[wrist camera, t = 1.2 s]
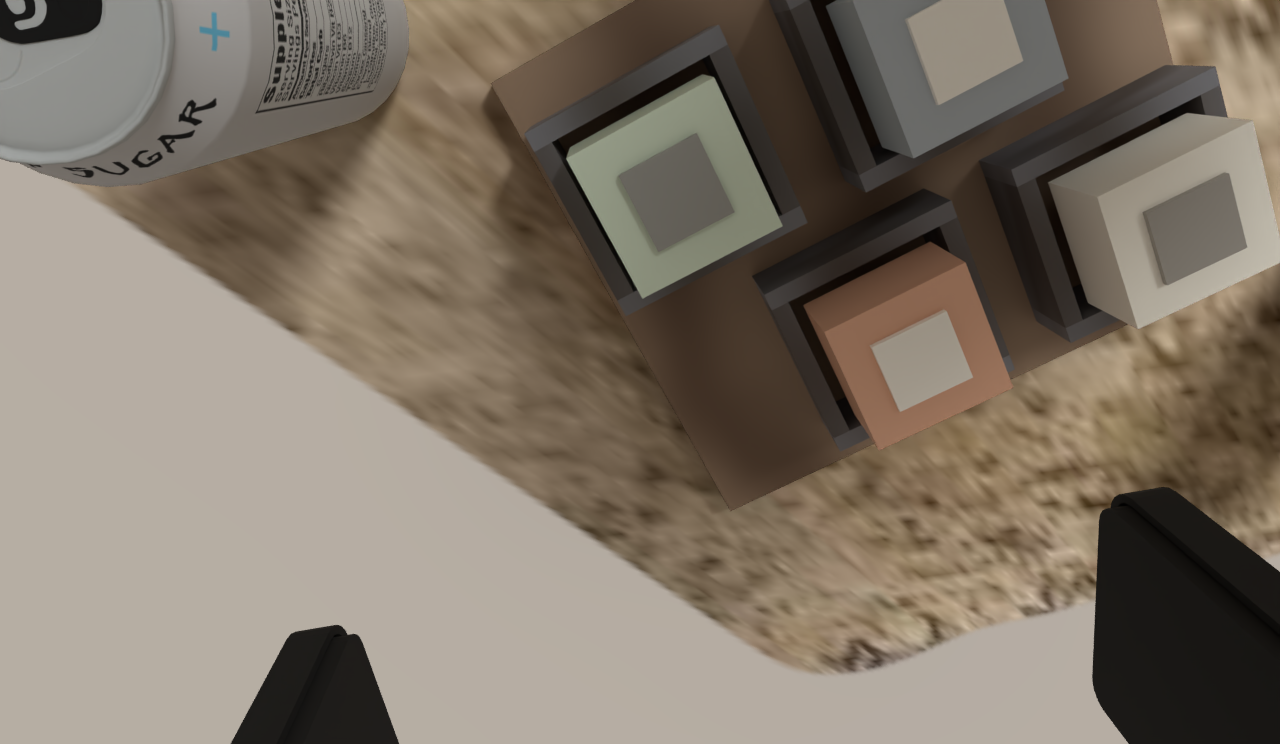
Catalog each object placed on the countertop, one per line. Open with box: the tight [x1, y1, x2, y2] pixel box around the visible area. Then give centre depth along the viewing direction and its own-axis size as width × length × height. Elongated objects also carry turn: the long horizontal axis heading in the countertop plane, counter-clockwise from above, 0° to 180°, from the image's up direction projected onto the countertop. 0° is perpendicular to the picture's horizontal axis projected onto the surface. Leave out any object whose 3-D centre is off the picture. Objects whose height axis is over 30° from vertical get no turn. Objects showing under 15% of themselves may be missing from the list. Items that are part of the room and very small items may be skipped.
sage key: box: [566, 74, 783, 299], centre depth 24 cm, size 4×4×3 cm
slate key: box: [826, 0, 1068, 158], centre depth 23 cm, size 4×4×3 cm
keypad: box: [491, 0, 1227, 511], centre depth 27 cm, size 20×18×3 cm
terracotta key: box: [803, 242, 1013, 450], centre depth 26 cm, size 4×4×3 cm
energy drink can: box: [0, 0, 409, 187], centre depth 19 cm, size 6×6×15 cm
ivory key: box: [1048, 113, 1280, 329], centre depth 25 cm, size 4×4×3 cm
